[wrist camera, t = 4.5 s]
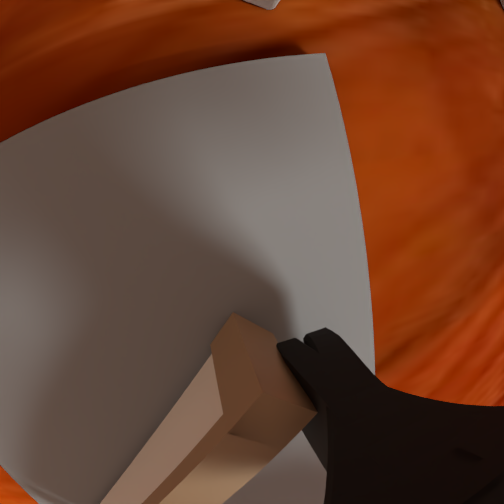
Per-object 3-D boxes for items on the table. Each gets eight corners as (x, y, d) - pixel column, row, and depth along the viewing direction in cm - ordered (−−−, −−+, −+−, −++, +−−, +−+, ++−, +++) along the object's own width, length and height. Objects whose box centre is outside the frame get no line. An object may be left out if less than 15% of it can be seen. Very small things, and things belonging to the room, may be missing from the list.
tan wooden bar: (111, 524, 11) (108, 578, 7) (85, 515, 10) (79, 569, 7) (272, 333, 9) (317, 412, 6) (233, 312, 9) (262, 392, 5)
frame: (365, 480, 15) (402, 538, 10) (92, 535, 12) (88, 593, 8) (315, 60, 9) (410, -4, 4) (-109, 225, 6) (-183, 255, 2)
